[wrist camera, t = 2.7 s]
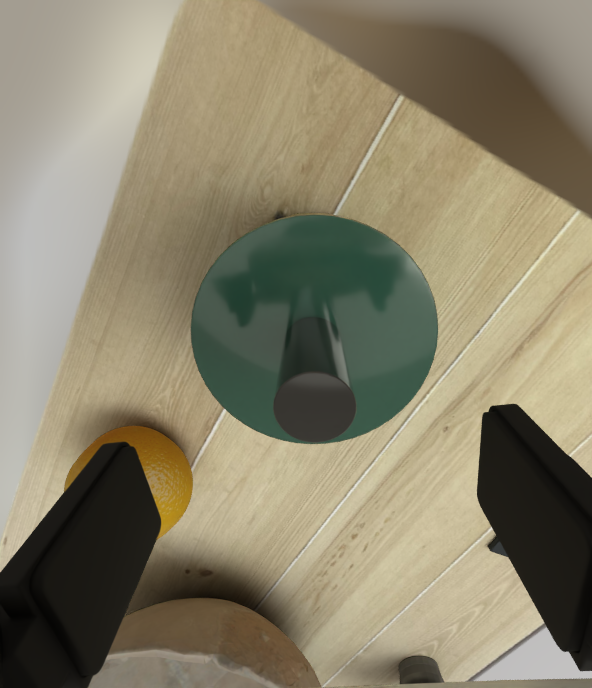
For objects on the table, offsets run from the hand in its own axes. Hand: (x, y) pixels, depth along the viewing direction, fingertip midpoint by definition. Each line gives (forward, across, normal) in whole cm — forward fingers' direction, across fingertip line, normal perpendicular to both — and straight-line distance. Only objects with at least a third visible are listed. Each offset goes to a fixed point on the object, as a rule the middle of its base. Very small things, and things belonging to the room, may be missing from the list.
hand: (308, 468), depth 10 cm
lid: (+9, 0, 0) cm, 9 cm away
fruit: (+18, +15, +12) cm, 26 cm away
